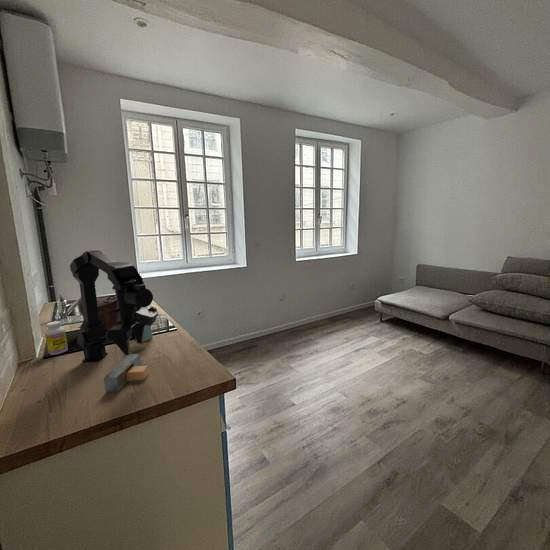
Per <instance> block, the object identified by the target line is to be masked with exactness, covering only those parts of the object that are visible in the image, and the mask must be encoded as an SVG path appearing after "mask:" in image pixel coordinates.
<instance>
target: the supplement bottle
mask: <svg viewBox="0 0 550 550" xmlns="http://www.w3.org/2000/svg"><path fill="white" fill-rule="evenodd" d="M61 325H62V323H61V321H59V320H56V321H51V322H48V323H46V328H47V329H46V330H45V331H44V337H45V341H46V345H47V351H48V354H49V355H51V356H55V355H60V354H62V353H65V352H67V351H68V349H69V346H68V345H69V344H68V341H67V334H66V329H65V327H63V326H61Z"/></svg>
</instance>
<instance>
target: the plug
mask: <svg viewBox="0 0 550 550" xmlns="http://www.w3.org/2000/svg"><path fill="white" fill-rule="evenodd" d="M148 375H149V366H148V365H141V366H132V367H131V368H130V369H129V370H128V371H127V372H126V378H127V382H128V381H129V382H130V381H143V380H145V379H146V378H147V377H148Z"/></svg>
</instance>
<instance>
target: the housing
mask: <svg viewBox="0 0 550 550" xmlns="http://www.w3.org/2000/svg"><path fill="white" fill-rule="evenodd" d="M132 366H142V362H141V355H140V353H133V354H130V353H129V355H125V357H124V358H123V359H122V360H121V361H120V362H119V363H118V364H117V365H116V366H114V368H113V369H112V370H111V371H109V372H108V373H107V375H105V376H104V377H103V382H104V383H103V384H104V388H105V393H117V392H118V393H119V392H120V391H121V390H122V389H123V387H124V386H126V384H127V383H128V381H127V378H126V372H127V371H128V370H129V369H130V368H131V367H132Z"/></svg>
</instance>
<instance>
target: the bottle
mask: <svg viewBox="0 0 550 550" xmlns="http://www.w3.org/2000/svg"><path fill="white" fill-rule="evenodd" d="M141 308H142V309H147V310H148V309H149V308H148V306H147V307H141ZM152 330H153V329H152V325H151V326H147V325H145V327H144V332H143V338H142V343H138V342H137V340H136V338H135V337H134V339H135V342H136V343H137V344H138V345H139V344H147V343H150V342H151V341H152V340H153V338H154V337H153V331H152Z"/></svg>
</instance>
